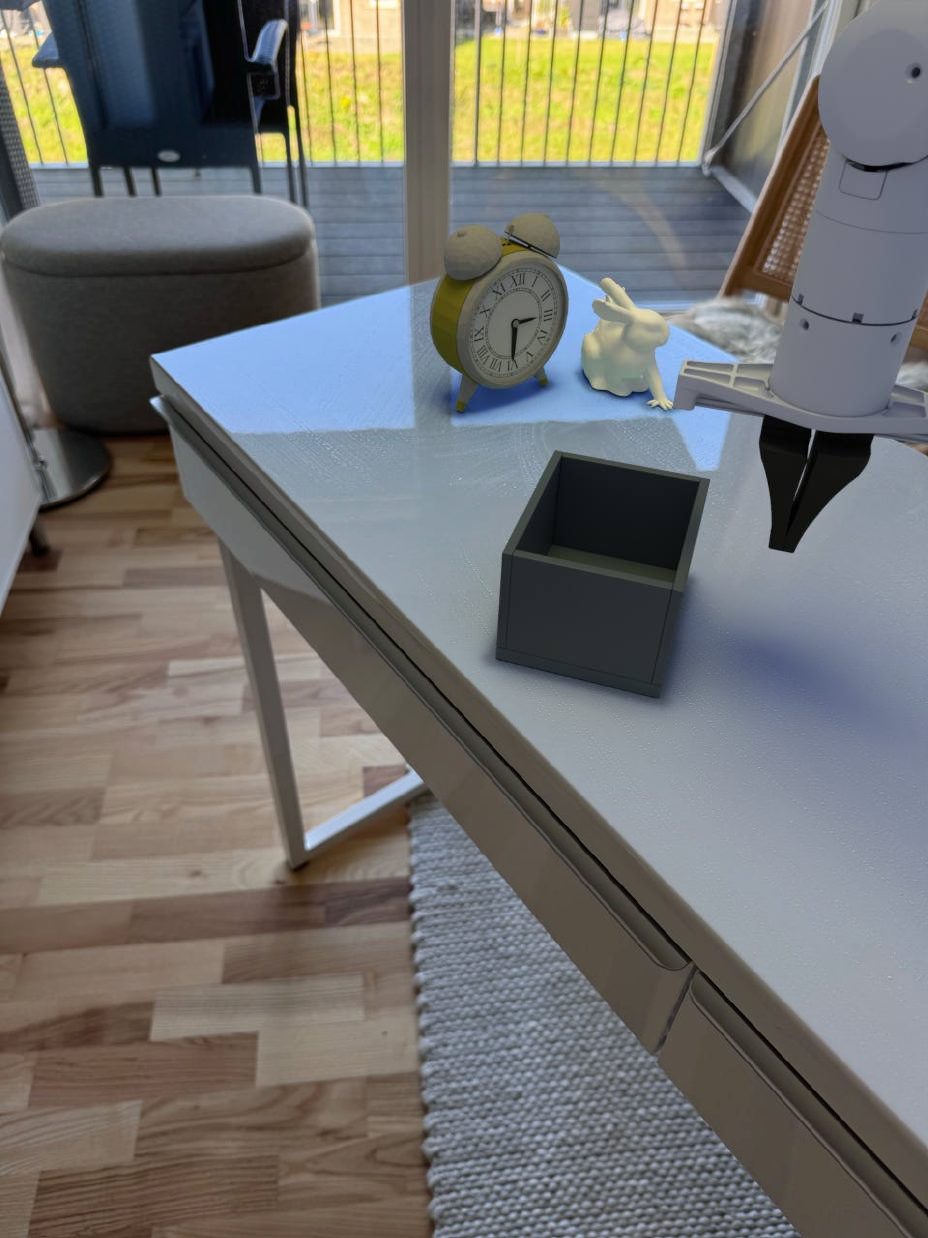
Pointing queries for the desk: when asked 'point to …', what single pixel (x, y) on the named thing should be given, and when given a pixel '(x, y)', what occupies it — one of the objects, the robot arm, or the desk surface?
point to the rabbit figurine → (624, 346)
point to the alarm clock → (499, 304)
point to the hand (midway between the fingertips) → (782, 541)
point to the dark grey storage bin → (599, 571)
